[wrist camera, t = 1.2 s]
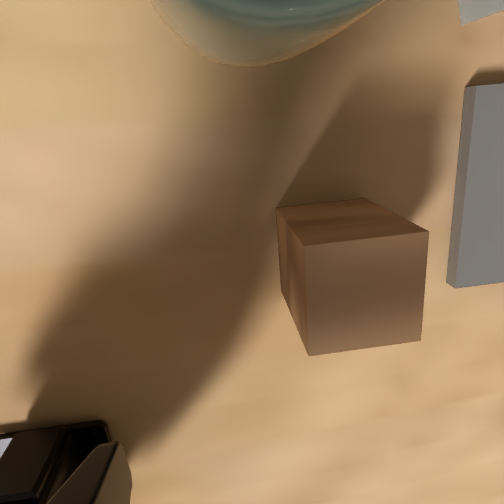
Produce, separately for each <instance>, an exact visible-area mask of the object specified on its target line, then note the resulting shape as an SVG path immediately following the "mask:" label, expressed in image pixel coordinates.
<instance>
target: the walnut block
mask: <svg viewBox="0 0 504 504" xmlns="http://www.w3.org/2000/svg"><path fill="white" fill-rule="evenodd" d="M276 221H277V236H278V251H279V267H280V282H281V291H282V294H283V296H284V299H285V301H286V303H287V306H288V308H289V310H290V313H291V315H292V318H293V320H294V322H295V325H296V327H297V330H298V332H299V334H300V337H301V339H302V341H303V344H304V346H305V349H306V351H307V353H308V356H314V355H321V354H329V353H336V352H343V351H350V350H357V349H365V348H372V347H379V346H386V345H393V344H401V343H408V342H415V341H421V332H422V319H423V305H424V292H425V279H426V266H427V253H428V239H429V231H427V230H425V229H423V228H421V227H420V226H418V225H416V224H414V223H412V222H410V221H408V220H406V219H404V218H402V217H400V216H398V215H396V214H394V213H392V212H390V211H388V210H386V209H384V208H382V207H381V206H379V205H377V204H375V203H373V202H371V201H369V200H367V199H365V198H361V199H352V200H343V201H334V202H325V203H316V204H307V205H297V206H288V207H279V208H276Z"/></svg>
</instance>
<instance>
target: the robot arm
mask: <svg viewBox="0 0 504 504" xmlns="http://www.w3.org/2000/svg"><path fill="white" fill-rule="evenodd" d="M95 429H98V430H100V431H96V430H95ZM131 485H132V478H131V471H130V468H129V465H128V462H127V458H126V455H125V452H124V449H123V446H122V444H121V443H120V442H112V441H111V438H110V434H109V430H108V427H107V425H106V423H105V422H103V421H90V422H83V423H76V424H69V425H62V426H55V427H48V428H41V429H35V430H28V431H21V432H14V433H7V434H0V504H130V495H131Z"/></svg>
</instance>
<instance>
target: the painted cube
mask: <svg viewBox="0 0 504 504" xmlns="http://www.w3.org/2000/svg"><path fill="white" fill-rule="evenodd" d="M458 4H459V11H460V19H461V26H462V25H465V24H467V23H470V22H473V21H475V20H478V19H481V18H484V17H486V16H489V15H492V14H494V13H497V12H500V11H503V10H504V0H458Z"/></svg>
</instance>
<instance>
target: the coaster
mask: <svg viewBox="0 0 504 504" xmlns="http://www.w3.org/2000/svg"><path fill="white" fill-rule="evenodd" d="M501 282H504V83H501V84H490V85H479V86H470V87H465V93H464V103H463V114H462V124H461V134H460V145H459V155H458V166H457V176H456V186H455V197H454V207H453V217H452V228H451V238H450V249H449V259H448V269H447V280H446V283H448V284H449V285H451V286H452V287H454V288H462V287H470V286H478V285H486V284H493V283H501Z"/></svg>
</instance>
